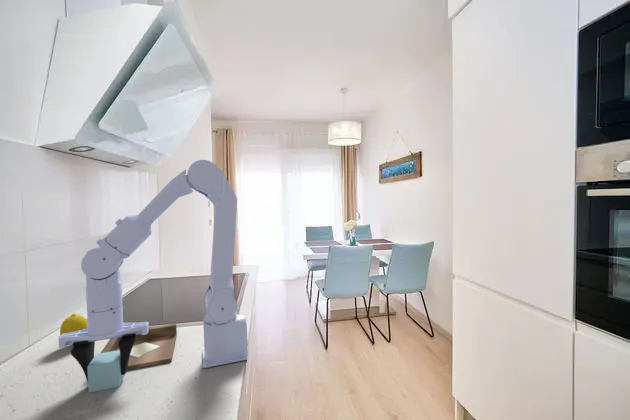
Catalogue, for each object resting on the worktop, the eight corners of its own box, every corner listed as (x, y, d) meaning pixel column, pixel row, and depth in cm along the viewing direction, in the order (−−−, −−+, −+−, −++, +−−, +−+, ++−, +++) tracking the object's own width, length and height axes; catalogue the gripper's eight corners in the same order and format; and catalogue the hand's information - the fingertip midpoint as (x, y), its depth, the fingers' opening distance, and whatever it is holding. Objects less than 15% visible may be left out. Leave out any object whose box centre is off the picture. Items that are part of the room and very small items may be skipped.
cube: (125, 372, 62) (125, 349, 62) (119, 386, 58) (118, 361, 57) (97, 378, 61) (96, 353, 60) (88, 392, 56) (87, 366, 56)
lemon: (59, 346, 75) (57, 314, 74) (86, 338, 79) (85, 308, 78) (62, 353, 71) (61, 320, 71) (91, 344, 75) (89, 313, 75)
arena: (176, 335, 79) (176, 323, 79) (171, 361, 66) (170, 347, 66) (115, 345, 74) (114, 332, 74) (96, 375, 61) (95, 360, 61)
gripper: (150, 296, 65) (152, 357, 65) (68, 305, 60) (71, 372, 60) (144, 307, 58) (146, 375, 59) (51, 318, 53) (55, 393, 54)
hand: (108, 375), depth 59 cm, fingers closed on cube, 5 cm apart
